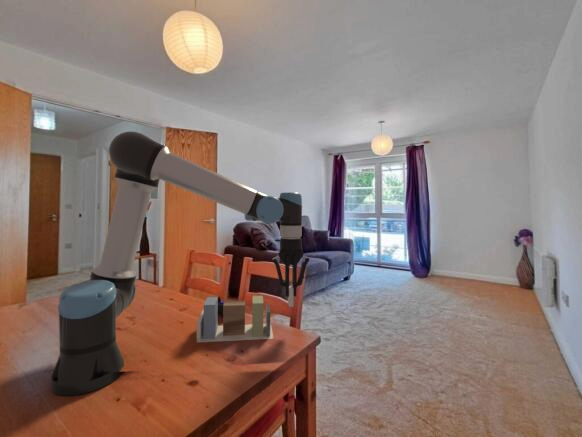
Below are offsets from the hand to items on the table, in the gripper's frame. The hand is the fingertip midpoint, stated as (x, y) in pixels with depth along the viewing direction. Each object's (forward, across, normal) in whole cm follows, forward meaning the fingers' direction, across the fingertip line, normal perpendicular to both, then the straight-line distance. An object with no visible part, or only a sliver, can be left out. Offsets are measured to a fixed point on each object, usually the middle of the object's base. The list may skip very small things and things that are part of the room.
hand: (290, 305), depth 99 cm
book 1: (+8, +27, 0) cm, 28 cm away
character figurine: (+10, +24, -17) cm, 31 cm away
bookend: (+8, +8, 0) cm, 12 cm away
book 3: (+8, +12, 0) cm, 14 cm away
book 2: (+8, +19, 0) cm, 21 cm away
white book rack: (+10, +18, 0) cm, 21 cm away
